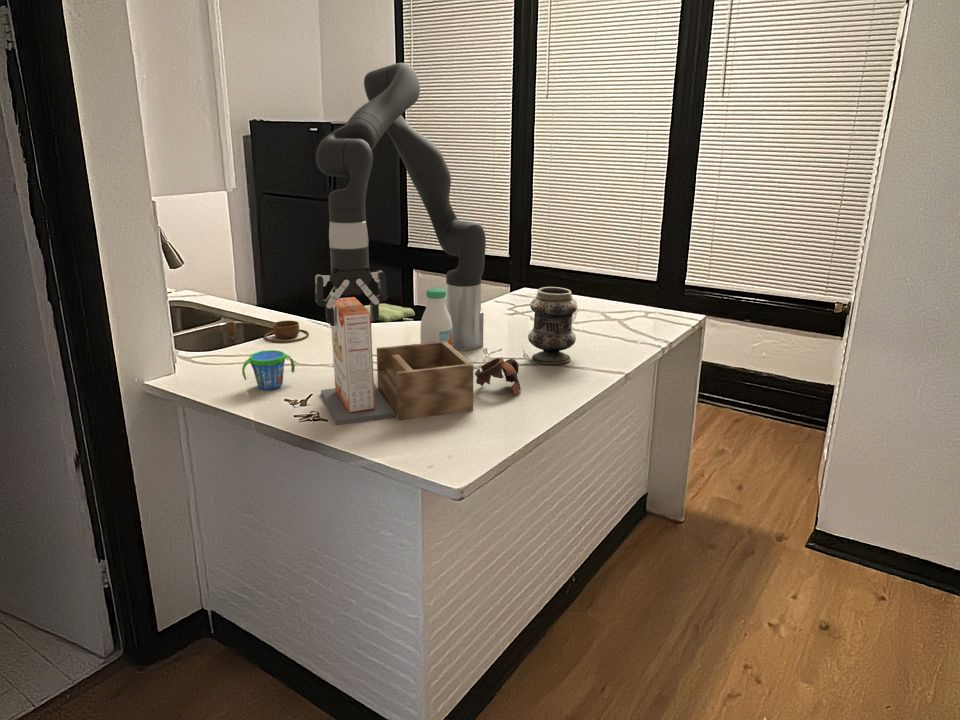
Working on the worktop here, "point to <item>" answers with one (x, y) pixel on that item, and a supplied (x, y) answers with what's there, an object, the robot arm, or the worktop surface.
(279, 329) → the place setting
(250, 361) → the snack cup
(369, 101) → the robot arm
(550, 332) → the apothecary jar
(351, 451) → the worktop surface
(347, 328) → the cracker box
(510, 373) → the brown jagged arch
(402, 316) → the washcloth
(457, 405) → the wooden box
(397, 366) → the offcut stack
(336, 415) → the mat
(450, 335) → the milk bottle
